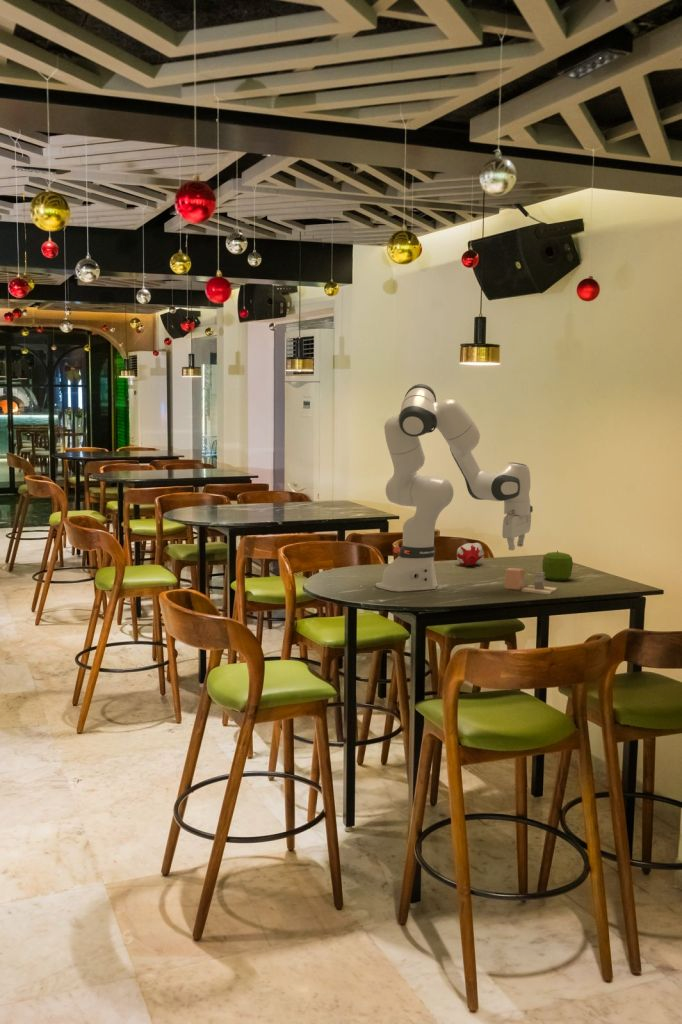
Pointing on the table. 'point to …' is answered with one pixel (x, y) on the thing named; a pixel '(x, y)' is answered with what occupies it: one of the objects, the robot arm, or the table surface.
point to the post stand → (539, 585)
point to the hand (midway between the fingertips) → (516, 548)
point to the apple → (557, 566)
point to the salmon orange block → (514, 578)
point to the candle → (470, 554)
